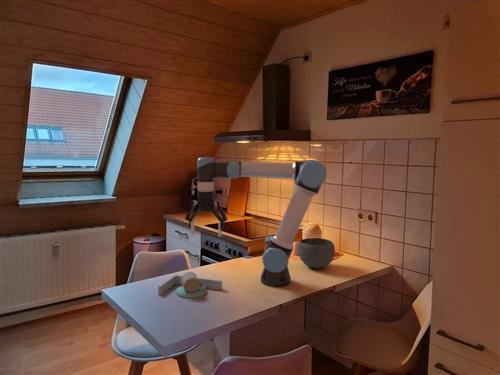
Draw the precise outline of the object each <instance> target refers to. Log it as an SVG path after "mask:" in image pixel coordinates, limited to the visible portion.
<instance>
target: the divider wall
mask: <svg viewBox="0 0 500 375" xmlns="http://www.w3.org/2000/svg"><path fill="white" fill-rule="evenodd" d="M174 275H175V276H176V284H175V285H182V284H181V277H182V276H183V275H180V274H174ZM197 278H198V280H199V282H200V283H202V284H204V285H205V288H206V289H214V290H221V291H222V290H223V280H219V279H213V278H203V277H197Z"/></svg>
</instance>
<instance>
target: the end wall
mask: <svg viewBox="0 0 500 375" xmlns="http://www.w3.org/2000/svg"><path fill="white" fill-rule="evenodd" d="M175 275H176V274H174V275H172V276H171V277H169V278H167V279H166V280H165V281H163V282H162V283H160V284H158V288H157V289H158V291H157V292H158V295H159V296H160V295H161V296H162V294H165V292H167V291H168V290H170V288H172V287H174V286H175V285H177V284H176V276H175Z"/></svg>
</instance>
